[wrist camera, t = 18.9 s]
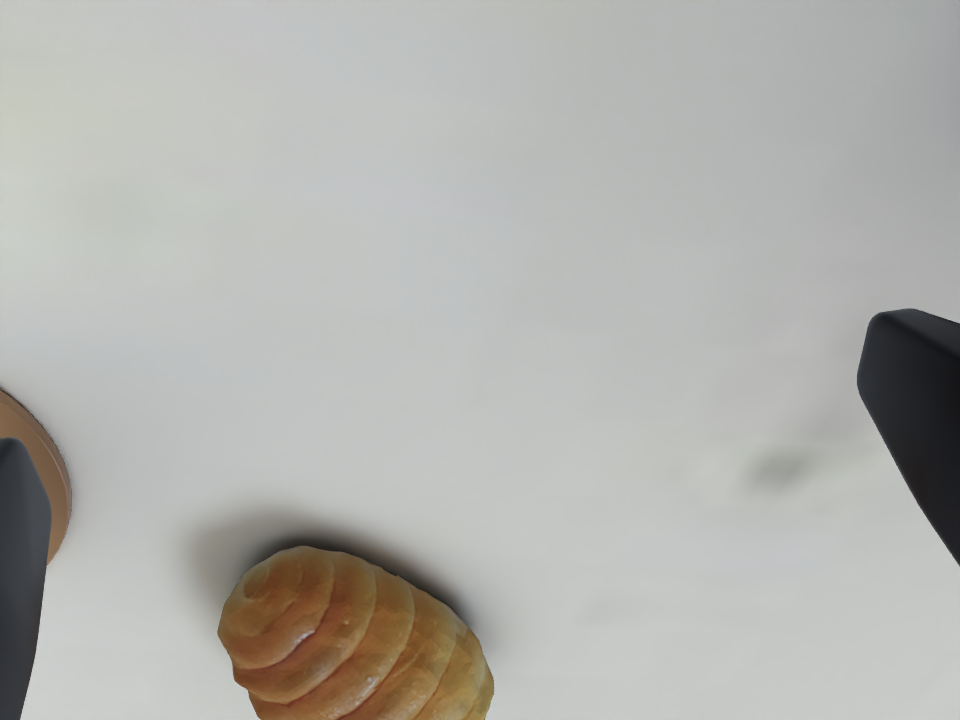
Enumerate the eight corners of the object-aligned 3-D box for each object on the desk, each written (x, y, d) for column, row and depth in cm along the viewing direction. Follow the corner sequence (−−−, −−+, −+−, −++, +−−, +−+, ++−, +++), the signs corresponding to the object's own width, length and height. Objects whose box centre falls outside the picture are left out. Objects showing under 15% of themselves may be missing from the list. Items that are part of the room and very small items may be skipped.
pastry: (163, 603, 26) (146, 713, 23) (341, 490, 25) (348, 590, 22) (352, 733, 32) (359, 837, 28) (508, 643, 30) (533, 742, 27)
